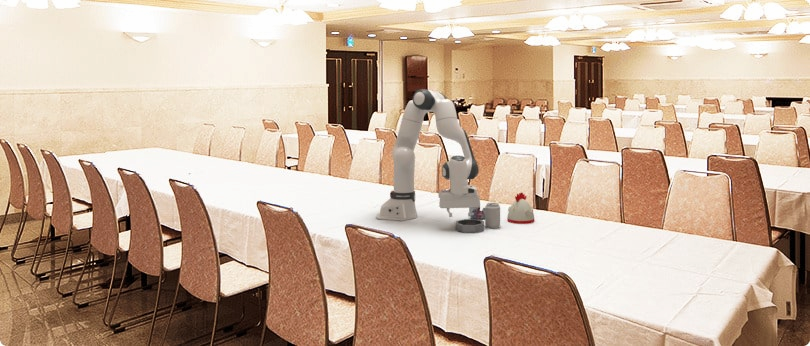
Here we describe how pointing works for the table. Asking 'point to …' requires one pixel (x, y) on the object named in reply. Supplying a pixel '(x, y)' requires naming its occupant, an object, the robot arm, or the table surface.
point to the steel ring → (469, 226)
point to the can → (492, 215)
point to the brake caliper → (478, 213)
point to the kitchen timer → (520, 211)
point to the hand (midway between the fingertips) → (460, 216)
